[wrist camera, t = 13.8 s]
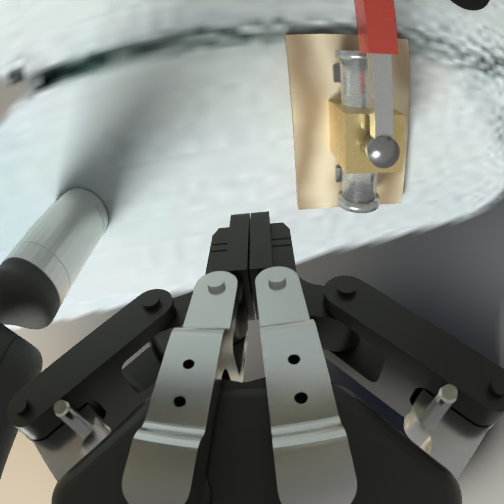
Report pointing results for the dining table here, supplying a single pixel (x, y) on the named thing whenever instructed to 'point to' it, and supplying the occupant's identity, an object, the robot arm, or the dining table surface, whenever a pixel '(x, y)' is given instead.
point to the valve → (356, 134)
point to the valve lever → (379, 77)
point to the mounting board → (317, 116)
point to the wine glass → (471, 4)
